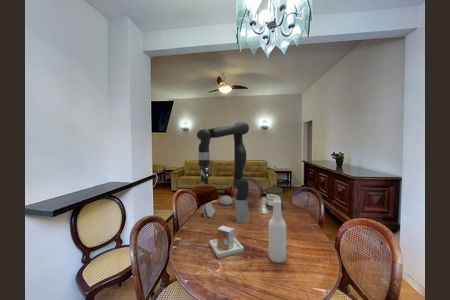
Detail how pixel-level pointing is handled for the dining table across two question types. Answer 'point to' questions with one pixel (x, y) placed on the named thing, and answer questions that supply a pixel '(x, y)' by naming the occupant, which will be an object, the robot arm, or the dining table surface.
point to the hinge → (208, 210)
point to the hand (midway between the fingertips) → (204, 182)
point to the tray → (224, 253)
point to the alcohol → (277, 234)
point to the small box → (225, 237)
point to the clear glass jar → (273, 196)
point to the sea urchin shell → (225, 200)
